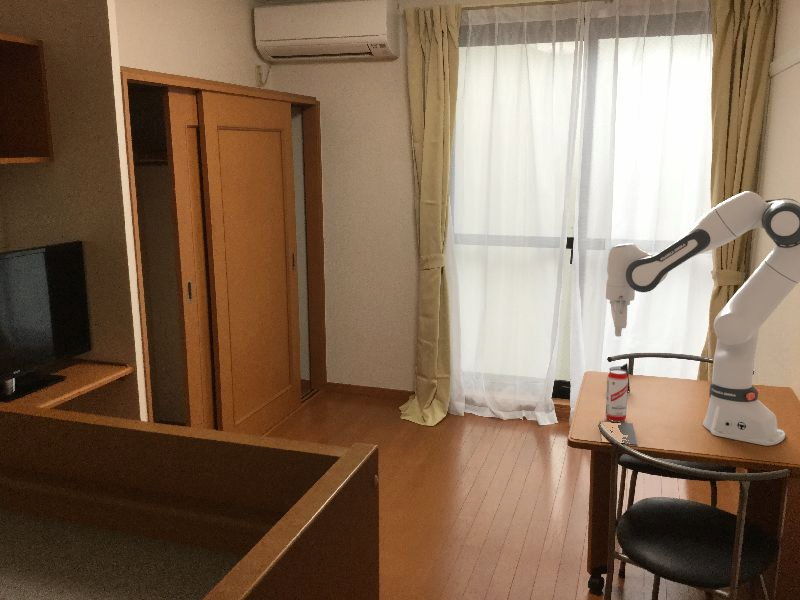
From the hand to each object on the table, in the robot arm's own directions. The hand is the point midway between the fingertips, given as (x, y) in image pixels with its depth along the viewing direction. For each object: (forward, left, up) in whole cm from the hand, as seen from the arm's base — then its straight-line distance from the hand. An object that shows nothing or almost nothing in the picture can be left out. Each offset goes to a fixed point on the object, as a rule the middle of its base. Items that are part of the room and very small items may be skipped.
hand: (617, 335), depth 224 cm
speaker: (+9, -19, -26) cm, 34 cm away
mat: (-11, +17, -26) cm, 33 cm away
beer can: (-5, +7, -26) cm, 27 cm away
